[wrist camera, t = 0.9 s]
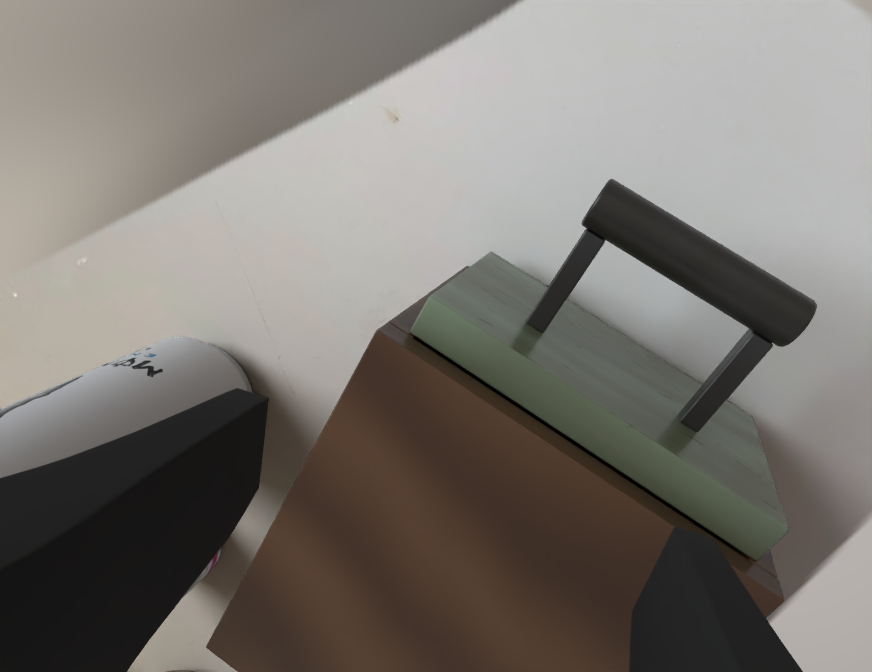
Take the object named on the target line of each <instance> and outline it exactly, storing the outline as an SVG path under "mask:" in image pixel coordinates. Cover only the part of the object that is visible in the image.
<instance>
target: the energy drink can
mask: <svg viewBox="0 0 872 672" xmlns="http://www.w3.org/2000/svg"><path fill="white" fill-rule="evenodd" d="M236 388H239V389H242V390H245V391H249V392H252V388H251V385H250V383H249V380H248V378H247V376H246V375H245V373H244V371H243V369H242V368H241V367H240V366H239V364H238V363H237V362H236V361H235V360H234V359H233V358H232V357H231V356H230V355H229V354H228V353H226V352H225V351H223V350H221V349H220V348H218V347H216V346H213V345H211V344H208V343H205V342H202V341H200V340H197V339H194V338H189V337H171V338H168V339H164V340H162V341H159V342H157V343H154V344H152V345H150V346H147V347H145V348H143V349H140V350H138V351H136V352H133V353H131V354H129V355H126V356H124V357H121V358H119V359H117V360H114V361H112V362H110V363H107V364H105V365H103V366H100V367H98V368H95V369H93V370H91V371H88V372H86V373H84V374H81V375H79V376H77V377H74V378H72V379H70V380H67V381H65V382H62V383H60V384H58V385H55V386H53V387H51V388H48V389H46V390H44V391H41V392H39V393H36V394H34V395H32V396H29V397H27V398H25V399H22V400H20V401H18V402H15V403H13V404H11V405H8V406H6V407H3V408H1V409H0V478H2V477H6V476H9V475H12V474H16V473H19V472H23V471H26V470H29V469H33V468H36V467H39V466H43V465H46V464H49V463H52V462H55V461H58V460H61V459H64V458H67V457H70V456H73V455H75V454H78V453H81V452H83V451H86V450H89V449H91V448H94V447H96V446H99V445H102V444H104V443H107V442H110V441H112V440H115V439H118V438H120V437H123V436H125V435H128V434H131V433H133V432H136V431H138V430H140V429H143V428H145V427H147V426H150V425H152V424H154V423H157V422H159V421H161V420H164V419H166V418H168V417H171V416H173V415H175V414H178V413H180V412H182V411H185V410H187V409H189V408H191V407H194V406H196V405H198V404H200V403H203V402H205V401H207V400H209V399H212V398H214V397H216V396H219V395H221V394H223V393H226V392H228V391H231V390H233V389H236Z"/></svg>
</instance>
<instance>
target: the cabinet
mask: <svg viewBox="0 0 872 672" xmlns="http://www.w3.org/2000/svg"><path fill="white" fill-rule="evenodd" d="M468 268H469V266H466V267H465V268H463V269H462V270H460V271H459V272H458V273H456V274H455V275H453V276H452V277H451V278H449V279H448V280H446V281H445V282H444V283H442V284H441V285H439V286H438V287H437V288H435V289H434V290H432V291H431V292H430V293H428V294H427V295H425V296H424V297H423V298H421V299H420V300H418V301H417V302H416V303H414V304H413V305H411V306H410V307H409V308H407V309H406V310H404V311H403V312H402V313H400V314H399V315H398V316H396V317H395V318H393V319H392V320H391V321H389V322H388V323H386V324H385V325H383V326H382V327H381V328H379V329H378V330H377V331H376V332H375V334H374V336H373V338H372V340H371V341H370V343H369V345H368V347H367V349H366V351H365V353H364V354H363V356H362V358H361V360H360V362H359V364H358V366H357V367H356V369H355V371H354V373H353V375H352V377H351V379H350V380H349V382H348V384H347V386H346V388H345V390H344V392H343V393H342V395H341V397H340V399H339V401H338V403H337V405H336V406H335V408H334V410H333V412H332V414H331V416H330V418H329V419H328V421H327V423H326V425H325V427H324V429H323V431H322V432H321V434H320V436H319V438H318V440H317V442H316V444H315V445H314V447H313V449H312V451H311V453H310V455H309V457H308V458H307V460H306V462H305V464H304V466H303V468H302V470H301V471H300V473H299V475H298V477H297V479H296V481H295V483H294V484H293V486H292V488H291V490H290V492H289V494H288V496H287V497H286V499H285V501H284V503H283V505H282V507H281V509H280V510H279V512H278V514H277V516H276V518H275V520H274V522H273V523H272V525H271V527H270V529H269V531H268V533H267V535H266V536H265V538H264V540H263V542H262V544H261V546H260V548H259V549H258V551H257V553H256V555H255V557H254V559H253V561H252V562H251V564H250V566H249V568H248V570H247V572H246V574H245V575H244V577H243V579H242V581H241V583H240V585H239V587H238V588H237V590H236V592H235V594H234V596H233V598H232V600H231V601H230V603H229V605H228V607H227V609H226V611H225V613H224V614H223V616H222V618H221V620H220V622H219V624H218V626H217V627H216V629H215V631H214V633H213V635H212V637H211V639H210V640H209V642H208V644H207V646H206V648H207V649H209V650H210V651H211V652H213V653H214V654H215V655H217V656H218V657H219V658H221V659H222V660H223V661H225V662H226V663H227V664H228V665H230V666H231V667H232V668H234V669H235V670H236V671H238V672H629V661H630V636H631V618H632V610H633V608H634V606H635V604H636V602H637V600H638V598H639V596H640V594H641V592H642V590H643V588H644V586H645V584H646V582H647V580H648V578H649V576H650V574H651V572H652V570H653V568H654V566H655V564H656V562H657V560H658V558H659V556H660V554H661V552H662V550H663V548H664V546H665V544H666V542H667V540H668V538H669V536H670V534H671V532H672V530H673V528H674V526H676V527H680V528H683V529H686V530H689V531H692V532H695V533H699V534H702V535H705V536H708V537H711V538H712V539H713V540H714V541H715V543H716V544H717V546H718V547H719V548H720V550H721V551H722V553H723V554H724V556H725V557H726V559H727V560H728V562H729V563H730V565H731V566H732V568H733V570H734V571H735V573H736V574H737V576H738V577H739V579H740V580H741V582H742V583H743V585H744V586H745V588H746V589H747V591H748V592H749V594H750V595H751V597H752V599H753V600H754V602H755V603H756V605H757V606H758V608H759V609H760V611H761V612H762V614H763V615H764V617H765V618H766V617H768V616H769V615H770V614H771V613H772V612H773V611H774V610H775V609H776V608H777V607H779V606H780V605H781V604H782V603H783V602H784V598H783V594H782V590H781V586H780V583H779V580H778V579H777V574H776V571H775V567H774V563H773V559H772V556H771V552H770V550H769V551H768V552H767V553H766V554H765V555H764V556H762V557H761V558H760V559H759V560H758V561H755V560H754V559H752V558H751V557H749V556H748V555H746V554H745V553H743V552H742V551H740V550H739V549H737V548H736V547H734V546H733V545H731V544H730V543H728V542H727V541H725V540H724V539H722V538H721V537H719V536H718V535H716V534H714V533H713V532H711V531H710V530H708V529H707V528H705V527H704V526H702V525H701V524H699V523H698V522H696V521H695V520H693V523H691V522H690V521H688V520H687V519H685V518H684V517H682V516H681V515H679V514H678V513H676V512H675V511H673V510H672V509H670V508H669V507H667V506H666V505H664V504H663V503H661V502H660V501H658V500H657V499H655V498H654V497H652V496H651V495H649V494H648V493H646V492H645V491H643V490H641V489H640V488H638V487H637V486H635V485H634V484H632V483H631V482H629V481H628V480H626V479H625V478H623V477H622V476H620V475H619V474H617V473H616V472H614V471H613V470H611V469H610V468H608V467H607V466H605V465H604V464H602V463H601V462H599V461H598V460H596V459H595V458H593V457H592V456H590V455H589V454H587V453H586V452H584V451H583V450H581V449H579V448H578V447H576V446H575V445H573V444H572V443H570V442H569V441H567V440H566V439H564V438H563V437H561V436H560V435H558V434H557V433H555V432H554V431H552V430H551V429H549V428H548V427H546V426H545V425H543V424H542V423H540V422H539V421H537V420H536V419H534V418H533V417H531V416H530V415H528V414H527V413H525V412H524V411H522V410H521V409H519V408H517V407H516V406H514V405H513V404H511V403H510V402H508V401H507V400H505V399H504V398H502V397H501V396H499V395H498V394H496V393H495V392H493V391H492V390H490V389H489V388H487V387H486V386H484V385H483V384H481V383H480V382H478V381H477V380H475V379H474V378H472V377H471V376H469V375H468V374H466V373H465V372H463V371H462V370H460V369H458V368H457V367H455V366H454V365H452V364H451V363H449V362H448V361H446V360H445V359H443V358H442V357H440V356H439V355H438V354H439V353H440V352H439V351H437V350H436V349H434V348H433V347H431V346H430V345H428V344H427V343H425V342H424V341H422V340H421V339H419V338H418V337H416V336H415V335H413V334H412V333H410V330H411V328H412V326H413V324H414V322H415V321H416V319H417V317H418V315H419V314H420V312H421V310H422V308H423V307H424V305H425V303H426V301H427V299H428V298H429V297H430V296H431V295H432V294H434V293H435V292H436V291H438V290H439V289H440V288H442V287H443V286H445V285H446V284H447V283H449V282H450V281H451V280H453V279H454V278H455V277H457V276H458V275H460V274H461V273H462V272H464V271H465V270H466V269H468Z"/></svg>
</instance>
